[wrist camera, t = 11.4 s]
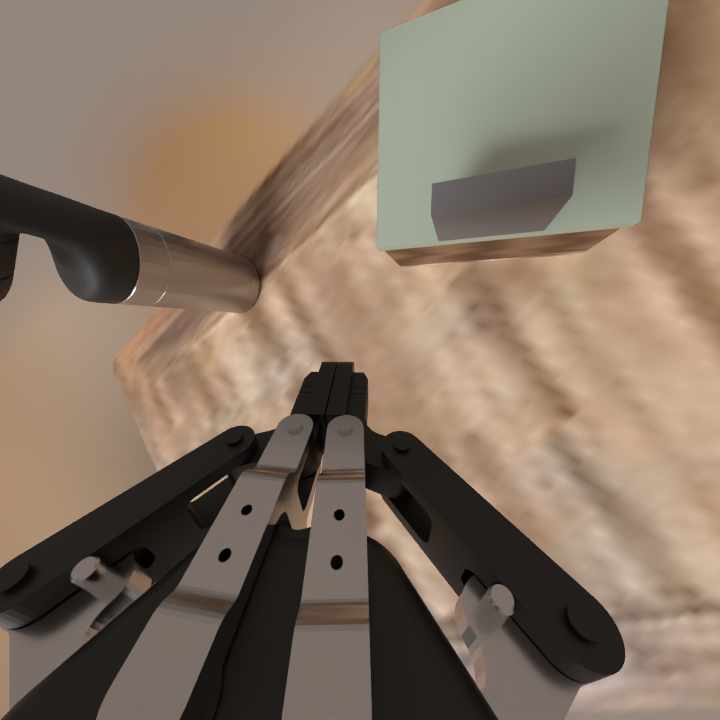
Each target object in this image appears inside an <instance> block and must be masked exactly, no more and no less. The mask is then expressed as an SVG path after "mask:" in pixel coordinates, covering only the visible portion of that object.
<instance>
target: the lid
mask: <svg viewBox="0 0 720 720" xmlns="http://www.w3.org/2000/svg"><path fill="white" fill-rule="evenodd" d="M667 8H668V0H460V1H458V2H455V3H453V4H450V5H448V6H445V7H443V8H440V9H438V10H435V11H433V12H430V13H428V14H425V15H423V16H420V17H418V18H415V19H413V20H410V21H408V22H405V23H403V24H400V25H398V26H395V27H393V28H391V29H388V30H386V31H383V32H381V33H380V83H379V140H378V197H377V249H378V250H379V251H387V250H398V249H408V248H418V247H429V246H439V245H449V244H459V243H470V242H480V241H490V240H501V239H511V238H521V237H532V236H542V235H552V234H563V233H573V232H583V231H593V230H604V229H614V228H624V227H631V226H633V225H635V224H636V223H638V222H639V221H641V213H642V205H643V197H644V189H645V182H646V174H647V166H648V158H649V150H650V142H651V134H652V126H653V119H654V111H655V103H656V95H657V87H658V79H659V71H660V63H661V55H662V48H663V40H664V32H665V24H666V16H667Z"/></svg>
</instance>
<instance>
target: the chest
mask: <svg viewBox="0 0 720 720" xmlns="http://www.w3.org/2000/svg"><path fill="white" fill-rule="evenodd" d="M619 229H620V228H614V229H604V230H593V231H583V232H573V233H563V234H552V235H542V236H532V237H521V238H511V239H501V240H490V241H480V242H470V243H459V244H449V245H439V246H429V247H418V248H408V249H398V250H387V251H386V252H387V253H388V254H389V255H390V256H391V257H392V258H393V259H394V260H395V261H396V262H397V263H398V264H399V265H400V266H401V267H410V266H423V265H437V264H451V263H465V262H478V261H492V260H506V259H520V258H533V257H547V256H561V255H575V254H582V253H583V252H585V251H586V250H588V249H589V248H591V247H593V246H594V245H596V244H597V243H599V242H600V241H602V240H603V239H605V238H606V237H608V236H609V235H611V234H613V233H614V232H616V231H617V230H619Z"/></svg>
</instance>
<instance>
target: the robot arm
mask: <svg viewBox="0 0 720 720" xmlns="http://www.w3.org/2000/svg"><path fill="white" fill-rule="evenodd" d="M20 233H24V234H29V235H33V236H37V237H40V238H43V239H45V241H46V243H47V244H48V247H49V249H50V251H51V254H52V257H53V260H54V263H55V266H56V269H57V271H58V273H59V276H60V277H61V279H62V281H63V282H64V284H65V285H66V287H67V288H68V289H69V290H70V291H71V292H72V293H73V294H74V295H75V296H77V297H79V298H81V299H83V300H86V301H90V302H98V303H112V304H126V305H140V306H154V307H167V308H181V309H194V310H207V311H219V312H233V313H242V312H245V311H247V310H249V309H250V308H251V307H252V306H253V305H254V303H255V302H256V300H257V297H258V294H259V288H260V281H259V276H258V272H257V270H256V268H255V266H254V265H253V263H252V262H251V261H249V260H248V259H247V258H245V257H242V256H239V255H236V254H233V253H230V252H227V251H224V250H221V249H218V248H215V247H212V246H209V245H206V244H203V243H200V242H197V241H194V240H191V239H187V238H184V237H181V236H178V235H175V234H172V233H169V232H166V231H163V230H160V229H157V228H154V227H151V226H148V225H144V224H141V223H138V222H135V221H132V220H129V219H126V218H123V217H120V216H117V215H114V214H111V213H108V212H105V211H102V210H99V209H96V208H94V207H91V206H88V205H85V204H82V203H80V202H77V201H74V200H72V199H69V198H66V197H63V196H60V195H58V194H55V193H52V192H49V191H46V190H43V189H40V188H37V187H34V186H31V185H28V184H26V183H23V182H20V181H17V180H15V179H12V178H9V177H6V176H4V175H1V174H0V301H1V300H2V299H4V298H5V297H6V295H7V293H8V292H9V290H10V287H11V284H12V280H13V275H14V269H15V262H16V255H17V249H18V242H19V234H20ZM367 415H368V379H367V377H366V375H365V374H364V373H355V372H354V362H322V364H321V367H320V370H319V372H311V373H310V374H309V375H308V376H307V377H305V379H304V381H303V384H302V387H301V389H300V391H299V394H298V396H297V399H296V401H295V404H294V407H293V409H292V412H291V414H290V416H287V417H285V418H284V419H283V420H281V421H280V423H279V424H278V426H277V427H276V429H274V430H271V431H267V432H262V433H258V434H255V433H254V431H253V429H251V428H250V427H248V426H236V427H233V428H230V429H228V430H226V431H225V432H223V433H221V434H220V435H218V436H216V437H215V438H213V439H211V440H210V441H208V442H206V443H205V444H203V445H201V446H200V447H198V448H196V449H195V450H193V451H191V452H190V453H188V454H186V455H185V456H183V457H181V458H180V459H178V460H176V461H175V462H173V463H171V464H170V465H168V466H166V467H165V468H163V469H162V470H160V471H158V472H157V473H155V474H153V475H152V476H150V477H148V478H147V479H145V480H143V481H142V482H140V483H138V484H137V485H135V486H133V487H132V488H130V489H128V490H127V491H125V492H123V493H122V494H120V495H119V496H117V497H115V498H113V499H112V500H110V501H108V502H107V503H105V504H103V505H102V506H100V507H98V508H97V509H95V510H94V511H92V512H90V513H89V514H87V515H85V516H83V517H82V518H80V519H79V520H77V521H75V522H74V523H72V524H70V525H69V526H67V527H65V528H64V529H62V530H60V531H59V532H57V533H55V534H54V535H52V536H50V537H49V538H47V539H45V540H44V541H42V542H40V543H39V544H37V545H35V546H34V547H32V548H31V549H29V550H27V551H25V552H24V553H22V554H20V555H19V556H17V557H16V558H14V559H12V560H11V561H9V562H8V563H7V564H5V565H4V566H3V567H1V568H0V627H1V628H2V629H3V630H6V631H8V632H9V634H10V711H9V712H8V713H7V714H6V715H5V716H4V717H3V718H2V719H1V720H564V718H565V716H566V714H567V712H568V710H569V708H570V706H571V704H572V702H573V700H574V698H575V696H576V694H577V692H578V690H579V688H580V687H582V686H585V685H587V684H590V683H592V682H595V681H597V680H600V679H603V678H605V677H608V676H610V675H613V674H615V673H617V672H618V671H619V670H620V669H621V668H622V666H623V664H624V661H625V648H624V643H623V640H622V637H621V634H620V632H619V630H618V627H617V626H616V624H615V622H614V621H613V619H612V617H611V616H610V615H609V613H608V612H607V611H606V609H605V608H604V607H603V606H602V605H601V604H600V603H599V602H598V601H597V600H596V599H595V598H594V597H593V596H592V595H591V594H590V593H588V592H587V591H586V590H585V589H584V588H583V587H582V586H581V585H580V584H578V583H577V582H576V581H575V580H574V579H573V578H572V577H571V576H570V575H568V574H567V573H566V572H565V571H564V570H563V569H562V568H561V567H560V566H558V565H557V564H556V563H555V562H554V561H553V560H552V559H551V558H550V557H548V556H547V555H546V554H545V553H544V552H543V551H542V550H541V549H540V548H538V547H537V546H536V545H535V544H534V543H533V542H532V541H531V540H530V539H529V538H527V537H526V536H525V535H524V534H523V533H522V532H521V531H520V530H519V529H517V528H516V527H515V526H514V525H513V524H512V523H511V522H510V521H509V520H507V519H506V518H505V517H504V516H503V515H502V514H501V513H500V512H499V511H497V510H496V509H495V508H494V507H493V506H492V505H491V504H490V503H489V502H487V501H486V500H485V499H484V498H483V497H482V496H481V495H480V494H479V493H477V492H476V491H475V490H474V489H473V488H472V487H471V486H470V485H469V484H467V483H466V482H465V481H464V480H463V479H462V478H461V477H460V476H459V475H458V474H456V473H455V472H454V471H453V470H452V469H451V468H450V467H449V466H448V465H446V464H445V463H444V462H443V461H442V460H441V459H440V458H439V457H438V456H436V455H435V454H434V453H433V452H432V451H431V450H430V449H429V448H428V447H426V446H425V445H424V444H423V443H422V442H421V441H420V440H419V439H418V438H416V437H415V436H414V435H412V434H410V433H408V432H404V431H396V432H392V433H390V434H388V435H387V436H383V435H380V434H378V433H375V432H373V431H372V430H371V429H370V428H369V427H368V426H367ZM323 454H324V457H323V466H322V472H321V466H320V464H321V460H322V455H323ZM320 472H321V474H320ZM226 475H228V477H227V478H226V479H225V480H223V481H222V482H220V483H219V484H218V485H216V486H215V487H214V488H212V489H211V490H209V491H208V492H207V493H205V494H204V495H202V496H201V497H200V498H198V499H197V500H195V501H193V502H190V501H191V500H192V499H193V498H195V497H196V496H197V495H199V494H200V493H202V492H203V491H204V490H206V489H207V488H209V487H210V486H211V485H213V484H214V483H216V482H217V481H219V480H220V479H221V478H223V477H224V476H226ZM365 488H367V489H369V490H372V491H374V492H377V493H379V494H381V496H382V498H383V500H384V501H385V503H386V504H387V505H388V506H389V508H390V509H391V510H392V512H393V513H394V514H395V515H396V517H397V518H398V519H399V521H400V522H401V523H402V524H403V526H404V527H405V528H406V530H407V531H408V532H409V533H410V535H411V536H412V537H413V539H414V540H415V541H416V542H417V544H418V545H419V546H420V548H421V549H422V550H423V551H424V553H425V554H426V555H427V557H428V558H429V559H430V560H431V562H432V563H433V564H434V566H435V567H436V568H437V569H438V571H439V572H440V573H441V575H442V576H443V577H444V578H445V580H446V581H447V582H448V584H449V585H450V586H451V587H452V589H453V590H454V591H455V593H456V594H457V595H458V596H459V598H458V601H457V603H456V608H455V619H456V624H457V627H458V631H459V633H460V635H461V637H462V639H463V641H464V643H465V644H466V646H467V648H468V650H469V652H470V655H471V657H472V661H473V664H474V669H475V677H476V683H475V682H474V680H473V679H472V677H471V675H470V674H469V672H468V671H467V669H466V668H465V666H464V664H463V663H462V661H461V660H460V658H459V657H458V655H457V654H456V652H455V650H454V649H453V647H452V646H451V644H450V643H449V641H448V639H447V638H446V636H445V635H444V633H443V632H442V630H441V628H440V627H439V625H438V624H437V622H436V621H435V619H434V618H433V616H432V614H431V613H430V611H429V610H428V608H427V607H426V605H425V603H424V602H423V600H422V599H421V597H420V596H419V594H418V593H417V591H416V589H415V588H414V586H413V585H412V583H411V582H410V580H409V578H408V577H407V575H406V574H405V572H404V571H403V569H402V567H401V566H400V564H399V563H398V561H397V560H396V559H395V557H394V556H393V555H392V554H391V553H390V552H389V551H388V550H387V549H386V548H385V547H384V546H383V545H381V544H380V543H379V542H377V541H376V540H374V539H372V538H370V537H368V536H367V528H366V493H365ZM315 489H316V492H315ZM314 492H315V500H314V507H313V515H312V522H311V527H309V528H307V517H308V513H309V509H310V506H311V503H312V499H313V496H314ZM161 577H162V578H161ZM160 578H161V579H160ZM155 582H156V583H155ZM154 583H155V584H154ZM153 584H154V585H153Z"/></svg>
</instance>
